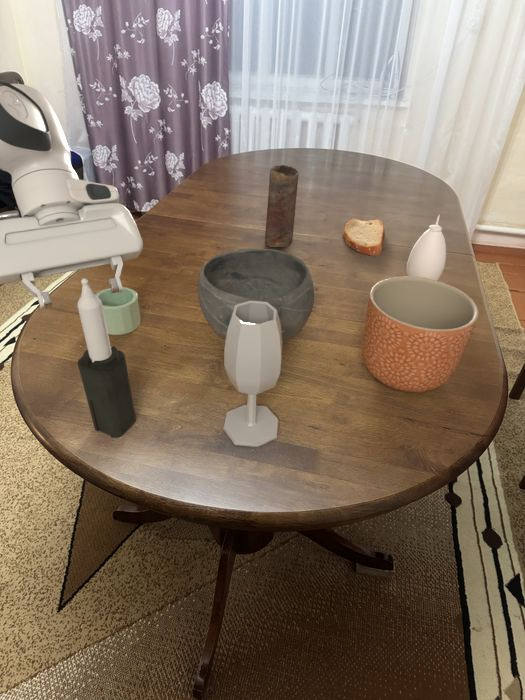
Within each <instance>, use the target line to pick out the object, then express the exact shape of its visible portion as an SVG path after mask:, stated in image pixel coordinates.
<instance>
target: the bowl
mask: <svg viewBox="0 0 525 700" xmlns="http://www.w3.org/2000/svg"><path fill="white" fill-rule="evenodd" d="M197 298H198V303H199V307H200V309H201V312H202V314H203V317H204V318H205V320H206V322H207V323H208V325H209V327H210V328H211V329H212V330H213V331H214V333H215V334H217V335H218V336H219V337H220V338H221V339H223V340H224V341H226V336H227V330H228V326H229V322H230V318H231V315H232V312H233V309H234V306H235V305H237V304H240V303H244V302H247V301H260V302H268V303H269V304H270V305H271V306H273V307H274V308H275V309H276V310H277V312H278V316H279V319H280V323H281V332H282V343H283V344H284V343H285V342H287V341H288V340H291V339H292V338H294V337H295V336H297V334H298V333H300V332H301V331H302V330H303V328H304V327H305V325H307V324H306V323H307V322H308V320H309V319H310V316H311V313H312V311H313V307H314V304H315V286H314V281H313V277H312V274H311V271H310V269H309V267H308V265H306V263H305V262H304V260H302V259H301V258H299V257H297V255H293V254H291V253H288V252H285V251H282V250H279V249H271V248H239V249H235V250H230V251H227V252H222V253H220V254H216V255H214V256H211V258H209V259H208V260H206V261H205V262H204V263H203V265H202V267H201V269H200V272H199V275H198V279H197Z"/></svg>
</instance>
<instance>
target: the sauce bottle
mask: <svg viewBox="0 0 525 700" xmlns="http://www.w3.org/2000/svg"><path fill="white" fill-rule="evenodd" d="M439 221H440V214H438V216H437V218H436V221H435V223H434V224H431V225H429V227H428V229H427V230H426V231H425V232H423V233H422V235H421V236H420V237H419V238H418V239H417V240H416V241H415V244H414V245H413V247H412V249H411V250H410V253H409V256H408V258H407V263H406V271H405V273H406V276H413V277H422V278H428V279H433V280H436V281H440V278H441V276H442V274H443V272H444V269H445V265H446V260H447V245H446V239H445V236H444V234H443V232H442V231H443V228H442V226H441V225H439Z"/></svg>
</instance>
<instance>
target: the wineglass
mask: <svg viewBox="0 0 525 700" xmlns="http://www.w3.org/2000/svg"><path fill="white" fill-rule="evenodd" d="M283 344H284V342H283V343H282V332H281V323H280V319H279V316H278V312H277V310H276V309H275V308H274V307H273V306H271V305H270V304H269V303H268V302H260V301H247V302H244V303H240V304H237V305H235V306H234V309H233V312H232V315H231V318H230V322H229V326H228V330H227V336H226V340H225V343H224V348H223V349H224V350H223V358H224V359H223V362H224V364H223V365H224V369H225V372H226V375H227V379H228V381H229V383H230V384H231V385H232V386H233V387H234V388H235V390H237V392H238V393H242V394H245V395H247V401H246V402H247V403H245V404H243V405H241V406H238V407H235V408H233V409H230V410H228V411H226V414H225V419H224V423H223V429H222V430H223V431H224V433H225V434H226V436H227V437H228V438H229V440H231V442H232V443H233V445H234V446H240V447H241V446H244V447H251V448H260V446H263V445H266V444H268V443H270V442H272V441H274V440H277V438H278V432H279V418H277V416H276V415H275V414H274V413H273V412H272V411H271V410H270V409H269V407H268V406H267V405H257V399H258V398H257V397H258V394H261V393H264V392H266V391H269V390H271V389H273V388H275V387H276V384H277V382H278V379H279V377H280V375H281V369H282V359H283Z"/></svg>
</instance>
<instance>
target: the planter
mask: <svg viewBox="0 0 525 700" xmlns="http://www.w3.org/2000/svg"><path fill="white" fill-rule="evenodd" d="M479 316H480V311H479V307H478V305H477V303H476V302H475V301H474V300H473V298H471V297H470V296H469V295H468V294H467V293H465V292H464V291H462V290H461V289H459V288H457V287H455V286H454V285H453V286H452V285H451V284H448V283H445V282H443V281H440V280H438V281H436V280H433V279H428V278H422V277H413V276H407V275H404V276H403V275H402V276H393V277H389V278H384V279H383V280H380V281H377V283H375V284H374V285H373V286H372V288H371V289H370V292H369V296H368V300H367V306H366V313H365V317H364V326H363V331H362V332H363V333H362V338H361V339H362V340H361V356H362V360H363V363H364V365H365V367H366V369H367V370H368V372H369V373H370V374H371V375H372V377H374V378H375V379H376V380H377V381H378V382H379V383H381V384H383V385H384V386H386V387H388V388H390V389H394V390H396V391H400V392H404V393H424V392H430V391H432V390H436V389H437V388H439V387H442V386H443V385H444V384H446V383H447V382H448V380H450V379H451V377H452V376H453V375H454V373H455V371H456V369H457V368H458V367H459V364H460V363H461V360H462V357H463V356H464V353H465V351H466V349H467V346H468V343H469V341H470V339H471V336H472V334H473V331H474V330H475V326H476V325H477V321H478V319H479Z"/></svg>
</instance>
